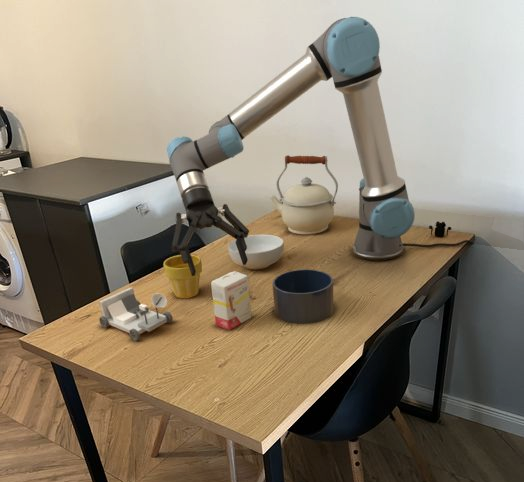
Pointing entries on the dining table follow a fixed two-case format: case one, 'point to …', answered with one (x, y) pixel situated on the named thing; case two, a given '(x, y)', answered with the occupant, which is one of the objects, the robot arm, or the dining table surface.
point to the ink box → (231, 300)
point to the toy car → (133, 313)
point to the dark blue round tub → (303, 296)
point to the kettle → (306, 201)
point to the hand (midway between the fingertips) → (220, 268)
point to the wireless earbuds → (440, 229)
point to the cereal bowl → (258, 251)
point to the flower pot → (183, 276)
